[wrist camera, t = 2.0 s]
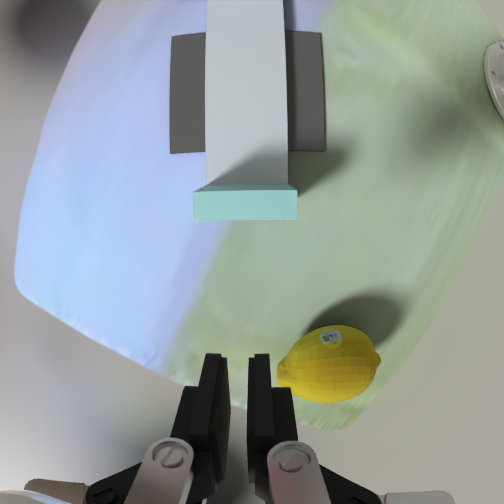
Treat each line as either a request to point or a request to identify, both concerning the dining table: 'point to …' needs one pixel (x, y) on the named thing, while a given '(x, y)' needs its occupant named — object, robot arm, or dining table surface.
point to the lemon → (329, 364)
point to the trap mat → (297, 80)
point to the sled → (245, 114)
